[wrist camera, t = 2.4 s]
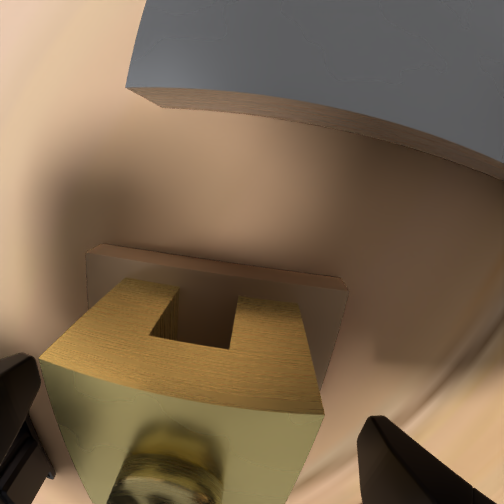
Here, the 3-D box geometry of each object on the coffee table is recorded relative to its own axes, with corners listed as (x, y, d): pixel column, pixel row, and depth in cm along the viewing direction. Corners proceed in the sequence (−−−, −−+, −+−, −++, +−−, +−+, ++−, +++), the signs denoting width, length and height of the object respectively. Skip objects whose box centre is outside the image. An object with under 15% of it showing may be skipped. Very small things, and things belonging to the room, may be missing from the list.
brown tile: (113, 396, 10) (103, 413, 9) (102, 243, 9) (85, 252, 8) (297, 427, 10) (299, 447, 9) (340, 277, 9) (349, 291, 8)
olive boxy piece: (133, 413, 9) (81, 530, 4) (125, 277, 8) (4, 392, 3) (266, 435, 9) (265, 568, 4) (298, 303, 8) (335, 467, 3)
